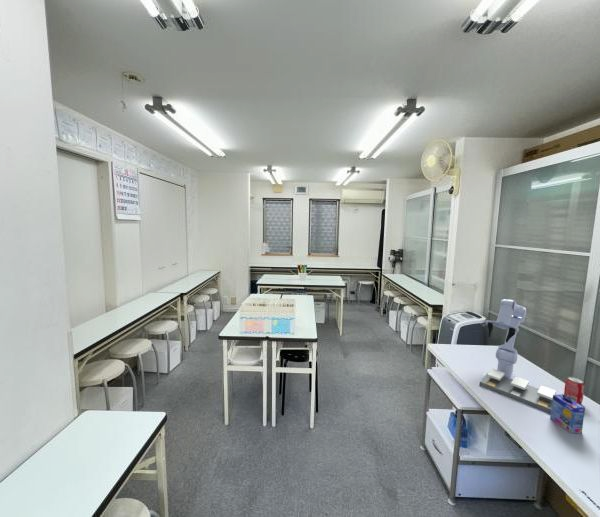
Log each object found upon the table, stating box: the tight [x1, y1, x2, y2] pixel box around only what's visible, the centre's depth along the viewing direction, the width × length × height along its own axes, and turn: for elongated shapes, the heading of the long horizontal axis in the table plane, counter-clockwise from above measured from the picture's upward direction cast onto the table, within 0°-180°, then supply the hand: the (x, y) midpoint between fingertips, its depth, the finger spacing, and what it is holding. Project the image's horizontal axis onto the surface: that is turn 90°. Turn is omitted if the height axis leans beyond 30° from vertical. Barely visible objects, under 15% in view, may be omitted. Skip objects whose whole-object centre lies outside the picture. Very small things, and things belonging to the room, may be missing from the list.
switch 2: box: [511, 376, 530, 390], centre depth 150 cm, size 10×6×1 cm, turn 130°
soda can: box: [563, 376, 586, 405], centre depth 142 cm, size 7×7×12 cm
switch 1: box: [486, 368, 505, 381], centre depth 158 cm, size 10×6×1 cm, turn 130°
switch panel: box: [479, 374, 552, 414], centre depth 149 cm, size 18×32×2 cm, turn 40°
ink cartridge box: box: [549, 393, 586, 434], centre depth 124 cm, size 10×6×14 cm, turn 5°
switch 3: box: [537, 385, 557, 400], centre depth 141 cm, size 10×6×1 cm, turn 130°
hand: (497, 338), depth 145 cm, fingers open, 7 cm apart
